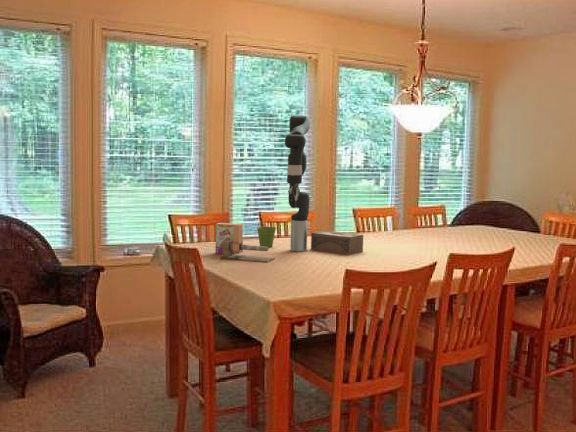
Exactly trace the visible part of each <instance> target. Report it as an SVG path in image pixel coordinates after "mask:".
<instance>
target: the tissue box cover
mask: <svg viewBox="0 0 576 432" xmlns="http://www.w3.org/2000/svg"><path fill="white" fill-rule="evenodd" d="M310 234H311V235H310V236H311V237H310V250H312V251H320V252H327V253H332V252H333V254H339V253H340V255H346V254H348V255H347V256H350V254H351V255H355V253H356V254H360V253H363V252H364V234H359V233H358V234H357V233H350V232H342V231H334V230H333V231H332V230H320V231H319V230H318V231H314V232H311V233H310ZM359 252H360V253H359Z"/></svg>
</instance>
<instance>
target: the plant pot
mask: <svg viewBox="0 0 576 432" xmlns="http://www.w3.org/2000/svg"><path fill="white" fill-rule="evenodd" d="M276 230H277V227H275V226H257V227H256V231H257V236H258V243H259V246H265V247H268V249H269V248H272V247H273V245H274V239H275V233H276Z"/></svg>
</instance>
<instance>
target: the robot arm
mask: <svg viewBox="0 0 576 432" xmlns="http://www.w3.org/2000/svg"><path fill="white" fill-rule="evenodd" d="M310 121H311V120H310V118H309V116H307V115H291V116H290V117H289V121H288V122H289V133H287V135H286V136H285V137H284V145H285V147H286V148H288V149H289V151H290V152H289V154H288V156H287V171H286V177H287V178H286V183H287V184H289V187H288V204H289V206H290V208H292V209H298V211H297V212H296V213H293V214H291V217H290V245H289V247H290V248H289V249H290V251H293V252H306V251H308V250H307V249H308V218H309V212H310V211H309V210H310V201H311V200H310V195H309V193H308V192H306V191H301V189H300V187H299V186H300V184H302V181H303V180H302V179H303V176H304V175H305V172H306V170H307V155H306V152H305V146H306V142H307V139H306V137H305V135H306V134H307V133H308V132H309V131H310V127H311V125H310V124H311V122H310Z"/></svg>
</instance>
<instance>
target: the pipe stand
mask: <svg viewBox="0 0 576 432" xmlns="http://www.w3.org/2000/svg"><path fill="white" fill-rule="evenodd" d="M232 249H233V244H232V241H225V242H223V254H222V256H220V257H219V259H220V260H221V259H222V260H231V261H232V260H233V261H242V262H243V261H245V262H255V263H256V262H257V263H268V264H269V263H270V262H271V261H274V260H275V257H269V256H268V257H267V256H256V255H255V256H254V255H245V254H244V255H243V254H236V255H232ZM239 249H240V250H243V251H254V252H255V251H256V252H269V247H265V246H260V245H251V244H250V245H249V244H243V245H240V244H239Z"/></svg>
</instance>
